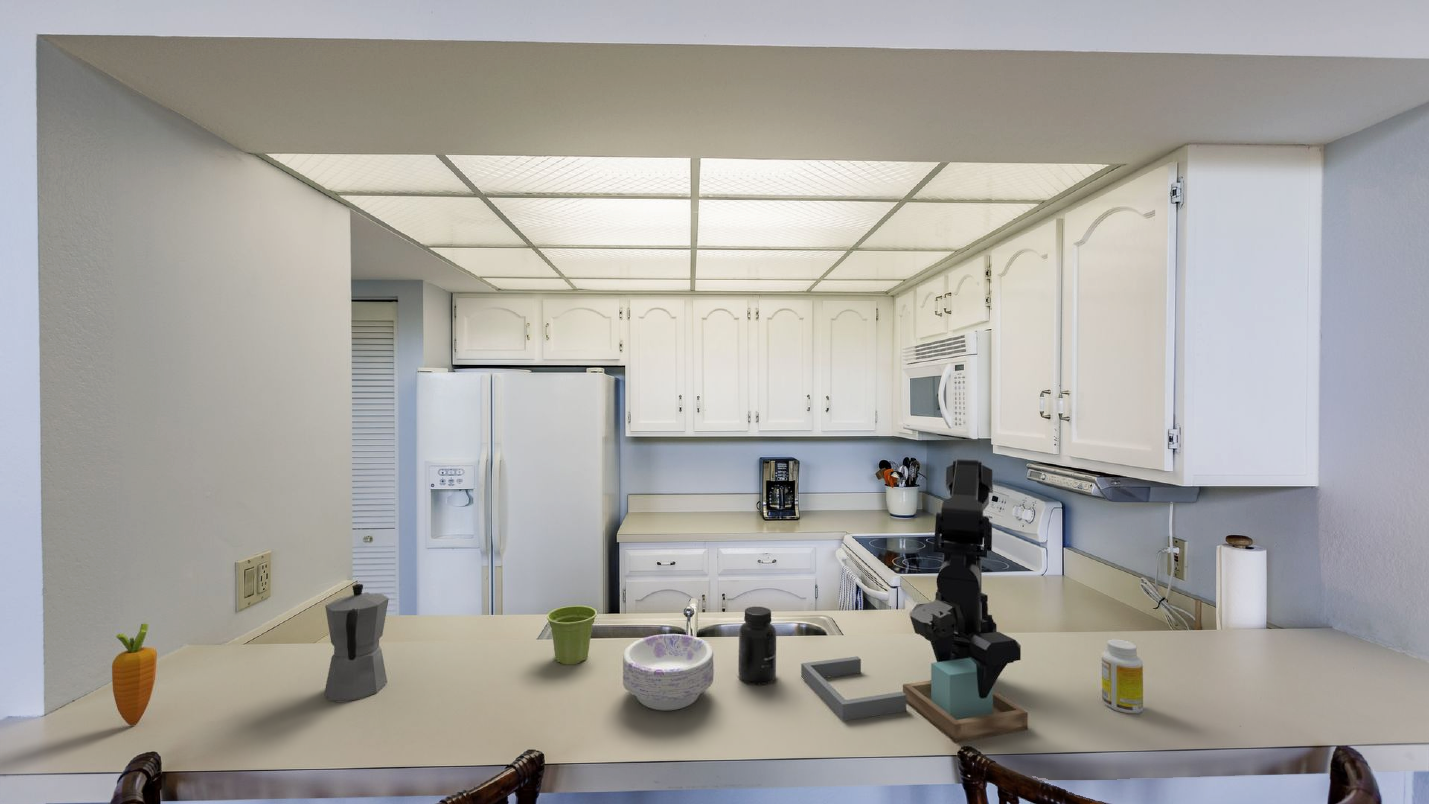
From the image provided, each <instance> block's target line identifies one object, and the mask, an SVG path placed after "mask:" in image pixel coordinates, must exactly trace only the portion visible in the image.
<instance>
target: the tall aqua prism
mask: <svg viewBox="0 0 1429 804" xmlns="http://www.w3.org/2000/svg"><path fill="white" fill-rule="evenodd" d="M930 664H931V665H930V668H931V669H930V672H931V673H930V675H931V676H930V680H931V701H932V702H933V703H934V704H936V705H937V706H938V707H940V708H941V709H942V710H944V711H945V712H946V713H948V714H949V715H950V716H952V717H953V718H954V719H955V720H959V719H965V718H971V717H977V716H983V715H989V714H993V691H994V686H993V687H992V689H991V691H990V692H989V694H988V696H987V698H983V699H981V698H980V697H979V693H978V685H977V670H976V664H975V663H974V662H973V661H972V660H971V658H965V659H958V660H950V661H943V662H937V661H936V662H931V663H930Z"/></svg>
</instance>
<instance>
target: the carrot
mask: <svg viewBox="0 0 1429 804" xmlns="http://www.w3.org/2000/svg"><path fill="white" fill-rule="evenodd" d="M148 627H149V624H148V623H146V622H142V623H141V624H140V628H139V631H138V633H137V636H136V637H135V638H134V637H130V638H129V637H127V635H126V634H124V633H118V634H117V635H116V638H117V639H118V640H119V641H120V642H121V643H122V645H123V646H124V648H126V650H125V651H122V652H120V653H119V654H118V655H117V656H116V657H115V658H114V659H113V661H112V665H111V676H112V677H111V679H112V680H111V681H112V693H113V697H114V702H115V705H116V708H117V711H118V713H119V715H120V716H121V718H122V719H123V720H124V721H125V722H126V723H127V725H129V726H131V725H135V726H136V725H137V724H138V723H139V722H140V720H141V719H142V717H143V715H144V713H145V711H146V709H147V707H148V705H149V702H150V701H151V697H152V694H153V693H152V692H153V690H154V685H155V680H156V672H157V655H158V653H157V650H156V649H155V648H153V647H146V646H143V643H144V640H145V637H146V636H147V632H148V629H149V628H148Z"/></svg>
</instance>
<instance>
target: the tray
mask: <svg viewBox="0 0 1429 804" xmlns="http://www.w3.org/2000/svg"><path fill="white" fill-rule="evenodd" d="M902 692H903V693H904V694H906V705H908V706H910V708H911V709H913V710H914V711H916V712H917V713H919V715H921V716H922V717H923V718H924V719H925V720H927V721H928V722H929V723H930V724H932V725H933V726H934V727H935V728H936V729H938V730H939V731H940V732H942V733H943V734H944V735H945V736H947V737H948V738H949V739H950V740H951V741H952V742H954V743H961V742H966V741H971V740H976V739H981V738H987V737H993V736H998V735H1005V734H1010V733H1016V732H1021V731H1027V730H1028V729H1029V728H1028V725H1029V724H1028V723H1029V721H1028V720H1029V715H1028V713H1029V712H1028V711H1026V709H1024V708H1021V707H1020V706H1018V704H1015V703H1014V702H1012V700H1009V699H1007V698H1005V697H1004V696H1002V695H1001V694H1000V693H998V692H996V691H995V690H993V714H989V715H983V716H977V717H971V718H965V719H959V720H955V719H954V718H953V717H952V716H950V715H949V714H948V713H946V712H945V711H944V710H942V709H941V708H940V707H938V706H937V705H936V704H934V703H933V702H932V701H931V679H930V680H924V681H916V682H910V683H904V684H902Z"/></svg>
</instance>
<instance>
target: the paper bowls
mask: <svg viewBox="0 0 1429 804" xmlns="http://www.w3.org/2000/svg"><path fill="white" fill-rule="evenodd" d="M714 671H715V670H714V650H713V647H712V646H711V644H709V642H707V641H706V640H703V639H702V638H700V637H696V636H694V635H690V634H689V635H688V634H680V633H679V634H678V633H665V634H656V635H655V634H654V635H649V636H646V637H643V638H640V639H637V640H636V641H634V642H632V643H631V644H629V645H628V646H627V647H626V648H625V650H624V651H623V654H622V685H623V687H624V689H625V690H626V691H628V692H629V694H631V695H633V696H636V698H637V700H638V702H640V704H642V705H643V706H645V707H647V708H650V709H652V710H656V711H665V712H666V711H675V710H676V711H677V710H680V709H684V708H686V707H688V706H690V705H692V704H694V703H695V702H696V701H697V700H698V698H699V697H700V695H701V694H702V693H703V692H705V691H706V690H708V689H709V688H710V687H711V686H712V684H713V682H714Z"/></svg>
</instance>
